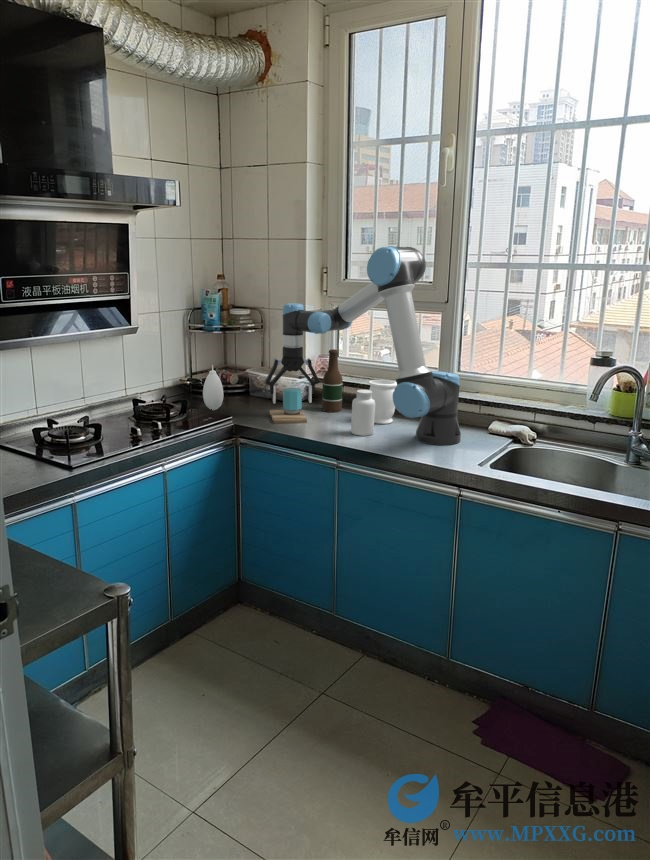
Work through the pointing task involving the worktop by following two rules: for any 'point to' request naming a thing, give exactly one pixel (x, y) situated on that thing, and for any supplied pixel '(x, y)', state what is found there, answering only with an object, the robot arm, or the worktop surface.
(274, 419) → the stud block
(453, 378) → the robot arm
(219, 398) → the white air blower bulb
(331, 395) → the beer bottle
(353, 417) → the pill bottle
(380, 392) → the jar
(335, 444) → the worktop surface
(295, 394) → the turquoise hexagonal prism
